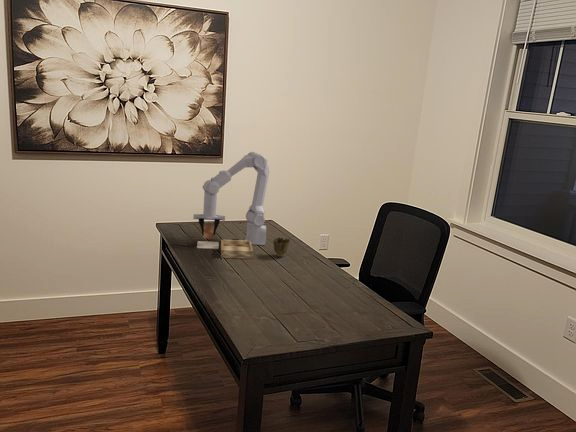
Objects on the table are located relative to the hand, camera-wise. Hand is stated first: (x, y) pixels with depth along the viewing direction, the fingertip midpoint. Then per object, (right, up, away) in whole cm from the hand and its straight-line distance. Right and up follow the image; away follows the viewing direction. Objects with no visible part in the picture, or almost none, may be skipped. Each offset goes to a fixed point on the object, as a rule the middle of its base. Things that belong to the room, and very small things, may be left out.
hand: (208, 234), depth 247 cm
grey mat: (0, -5, +1) cm, 5 cm away
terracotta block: (0, -1, 0) cm, 1 cm away
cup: (+34, -10, -5) cm, 36 cm away
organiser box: (+14, -8, -6) cm, 17 cm away
